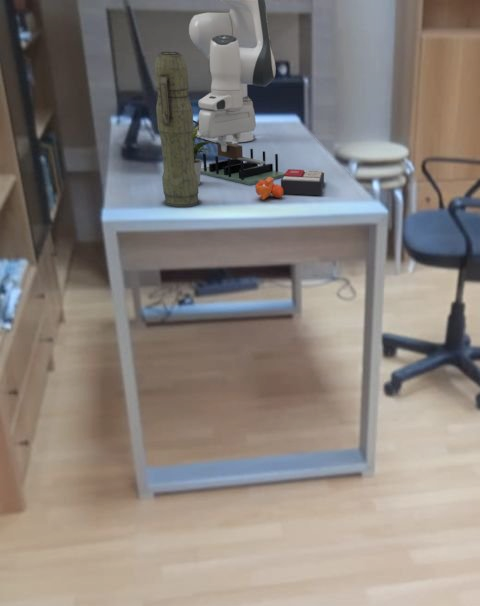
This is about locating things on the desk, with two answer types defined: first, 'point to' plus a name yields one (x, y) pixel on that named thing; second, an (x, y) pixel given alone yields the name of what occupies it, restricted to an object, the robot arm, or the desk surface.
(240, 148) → the knife
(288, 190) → the calculator
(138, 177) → the desk surface
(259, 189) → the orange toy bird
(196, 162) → the house plant
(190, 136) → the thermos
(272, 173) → the rack
